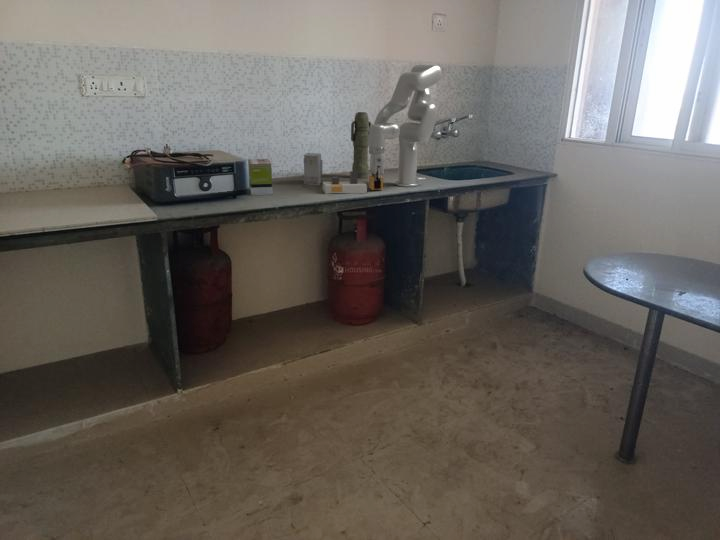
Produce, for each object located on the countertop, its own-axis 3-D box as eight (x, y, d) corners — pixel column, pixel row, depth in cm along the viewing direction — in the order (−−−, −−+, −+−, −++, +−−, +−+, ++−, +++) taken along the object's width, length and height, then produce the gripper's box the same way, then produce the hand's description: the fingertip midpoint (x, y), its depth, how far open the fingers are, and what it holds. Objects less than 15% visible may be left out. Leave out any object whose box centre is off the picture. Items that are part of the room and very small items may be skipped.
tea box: (249, 189, 255) (247, 158, 250) (270, 188, 258) (269, 158, 253) (251, 195, 242) (249, 163, 237) (273, 195, 244) (272, 162, 239)
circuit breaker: (322, 180, 283) (322, 152, 278) (318, 185, 269) (318, 155, 264) (309, 179, 283) (308, 151, 278) (303, 184, 270) (303, 155, 265)
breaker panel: (362, 189, 262) (362, 180, 261) (366, 193, 253) (367, 184, 251) (322, 189, 258) (322, 181, 257) (325, 194, 249) (325, 184, 248)
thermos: (373, 177, 295) (375, 112, 283) (356, 179, 288) (357, 113, 276) (364, 175, 302) (365, 111, 290) (347, 176, 295) (348, 112, 283)
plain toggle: (355, 185, 258) (356, 171, 255) (357, 186, 255) (357, 172, 252) (349, 185, 257) (350, 171, 255) (351, 186, 254) (351, 172, 252)
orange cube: (380, 187, 265) (380, 175, 263) (383, 189, 260) (383, 177, 258) (369, 187, 264) (369, 175, 262) (371, 189, 259) (371, 177, 257)
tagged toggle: (337, 190, 257) (337, 176, 254) (338, 192, 254) (338, 177, 251) (331, 191, 256) (331, 176, 254) (332, 192, 253) (332, 177, 251)
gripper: (388, 152, 248) (387, 190, 255) (379, 148, 264) (379, 183, 270) (373, 153, 247) (372, 191, 253) (365, 148, 263) (364, 184, 269)
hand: (375, 187), depth 262 cm, fingers closed on orange cube, 5 cm apart
